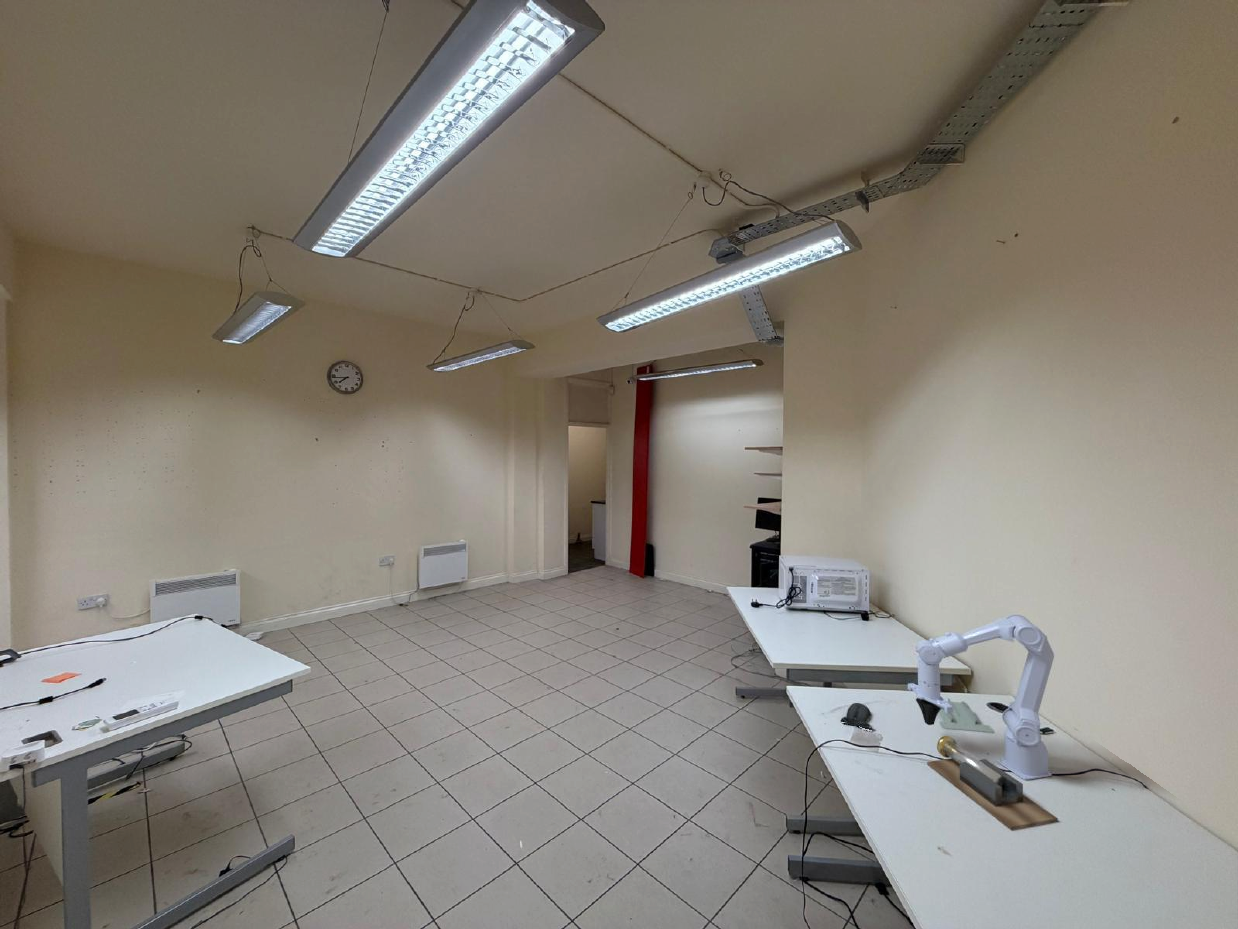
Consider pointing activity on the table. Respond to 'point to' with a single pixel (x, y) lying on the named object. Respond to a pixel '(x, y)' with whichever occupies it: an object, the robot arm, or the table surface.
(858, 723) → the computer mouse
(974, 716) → the metal bracket
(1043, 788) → the table surface
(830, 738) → the table surface
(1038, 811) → the base board
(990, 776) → the shaft
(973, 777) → the bearing block
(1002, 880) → the table surface
